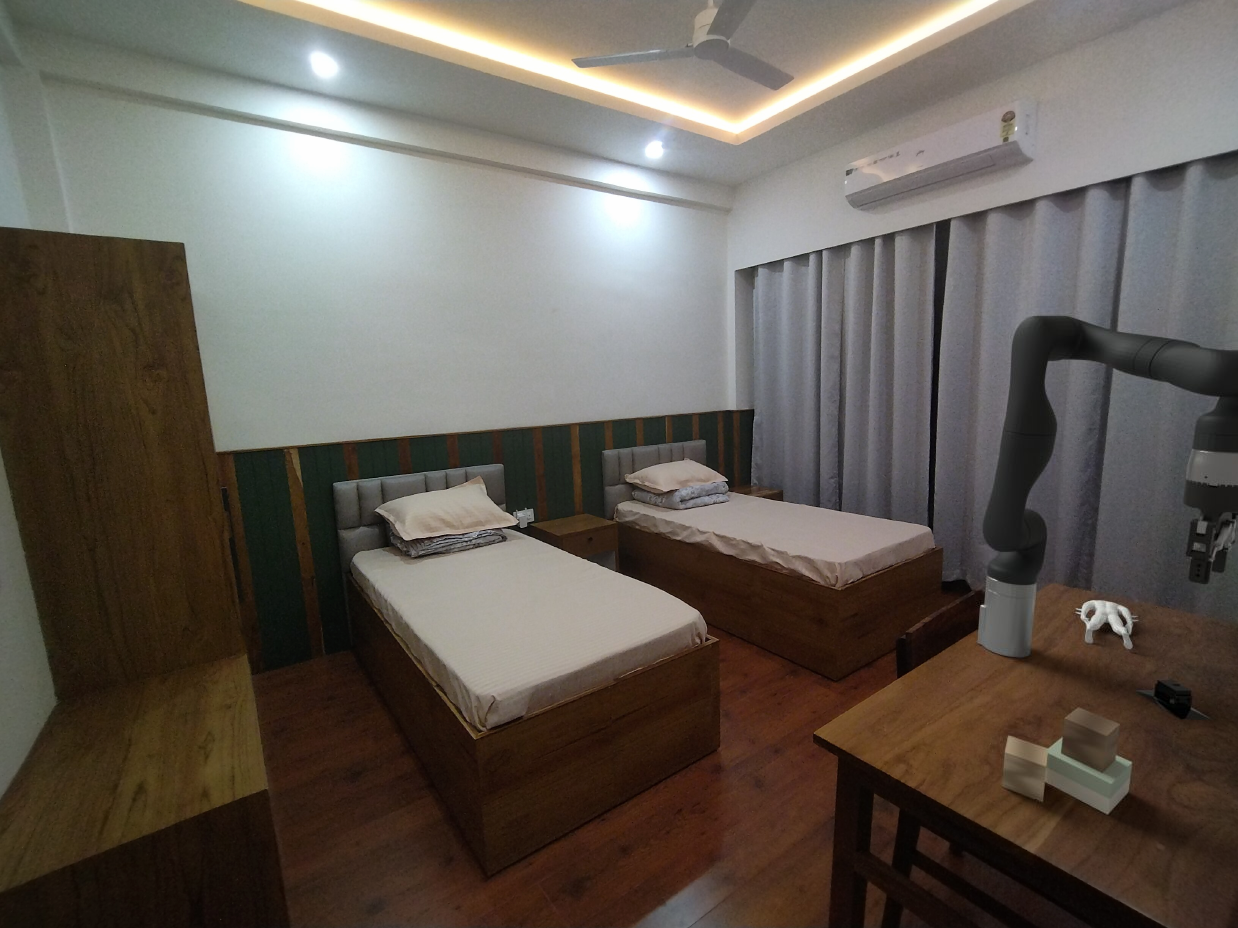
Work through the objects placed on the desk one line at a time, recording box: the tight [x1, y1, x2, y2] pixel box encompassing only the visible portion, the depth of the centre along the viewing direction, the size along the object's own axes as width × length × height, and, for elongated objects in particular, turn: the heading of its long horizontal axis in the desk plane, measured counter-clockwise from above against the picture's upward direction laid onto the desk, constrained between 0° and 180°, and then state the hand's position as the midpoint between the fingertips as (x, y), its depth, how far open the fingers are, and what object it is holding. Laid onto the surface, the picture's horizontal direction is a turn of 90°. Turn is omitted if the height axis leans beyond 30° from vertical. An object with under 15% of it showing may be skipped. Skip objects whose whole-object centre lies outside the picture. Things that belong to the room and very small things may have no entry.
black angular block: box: [1133, 679, 1212, 721], centre depth 101 cm, size 12×7×5 cm, turn 177°
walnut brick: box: [1061, 706, 1121, 773], centre depth 81 cm, size 5×5×6 cm
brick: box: [1001, 735, 1048, 803], centre depth 82 cm, size 5×5×6 cm
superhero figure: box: [1075, 599, 1139, 650], centre depth 131 cm, size 12×6×25 cm
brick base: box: [1045, 736, 1133, 815], centre depth 81 cm, size 8×8×5 cm
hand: (1206, 576), depth 85 cm, fingers open, 8 cm apart
